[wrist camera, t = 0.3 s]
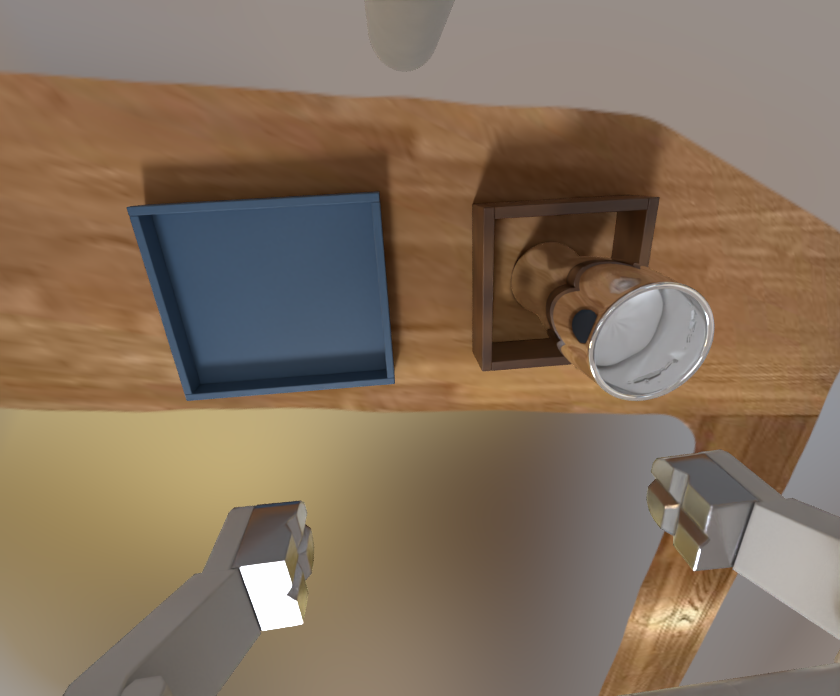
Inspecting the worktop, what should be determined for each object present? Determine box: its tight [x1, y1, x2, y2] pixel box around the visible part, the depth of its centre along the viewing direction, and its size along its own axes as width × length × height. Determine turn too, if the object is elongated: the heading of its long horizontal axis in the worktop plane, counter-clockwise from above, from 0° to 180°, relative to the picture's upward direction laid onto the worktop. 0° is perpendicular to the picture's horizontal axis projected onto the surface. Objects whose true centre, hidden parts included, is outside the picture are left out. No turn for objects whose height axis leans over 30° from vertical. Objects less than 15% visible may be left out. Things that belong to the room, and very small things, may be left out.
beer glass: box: [511, 242, 714, 401], centre depth 28 cm, size 7×7×15 cm
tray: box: [127, 191, 395, 401], centre depth 32 cm, size 15×17×2 cm
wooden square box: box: [472, 195, 659, 371], centre depth 33 cm, size 13×13×4 cm
